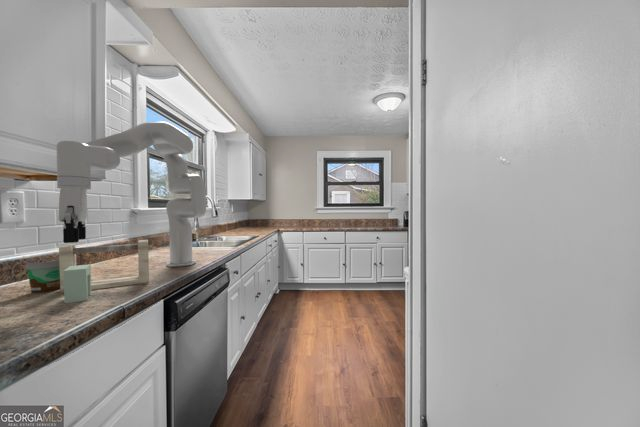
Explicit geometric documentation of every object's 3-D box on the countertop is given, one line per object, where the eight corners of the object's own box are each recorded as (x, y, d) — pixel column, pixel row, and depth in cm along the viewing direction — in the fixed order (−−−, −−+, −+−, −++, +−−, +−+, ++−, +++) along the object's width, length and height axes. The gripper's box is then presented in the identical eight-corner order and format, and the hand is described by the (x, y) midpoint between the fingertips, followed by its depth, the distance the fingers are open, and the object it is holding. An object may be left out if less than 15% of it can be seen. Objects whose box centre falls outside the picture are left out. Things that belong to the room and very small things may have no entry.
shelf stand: (65, 288, 93) (64, 244, 92) (148, 278, 106) (148, 239, 105) (60, 293, 88) (58, 247, 87) (148, 282, 100) (147, 241, 100)
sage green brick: (70, 296, 85) (69, 266, 85) (91, 293, 88) (90, 264, 87) (64, 303, 79) (63, 270, 79) (87, 300, 82) (86, 268, 81)
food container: (40, 295, 86) (39, 263, 86) (25, 294, 88) (24, 263, 87) (81, 284, 99) (80, 256, 98) (68, 283, 100) (67, 255, 99)
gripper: (65, 185, 87) (66, 239, 88) (47, 180, 73) (48, 245, 73) (95, 186, 91) (96, 237, 92) (84, 181, 77) (85, 243, 77)
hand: (75, 240), depth 82 cm, fingers open, 9 cm apart
